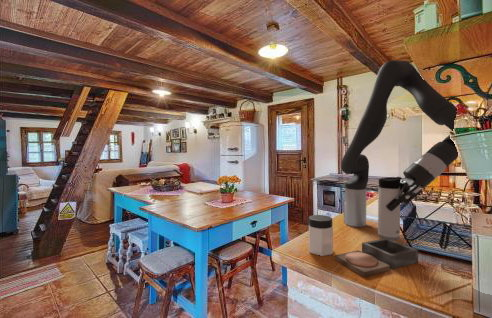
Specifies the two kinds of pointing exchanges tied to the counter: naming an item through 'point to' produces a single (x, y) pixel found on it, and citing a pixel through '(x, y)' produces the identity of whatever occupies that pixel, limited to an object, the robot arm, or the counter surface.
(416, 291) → the counter surface
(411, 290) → the counter surface
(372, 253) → the mug dock
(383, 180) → the travel mug
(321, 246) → the jar
